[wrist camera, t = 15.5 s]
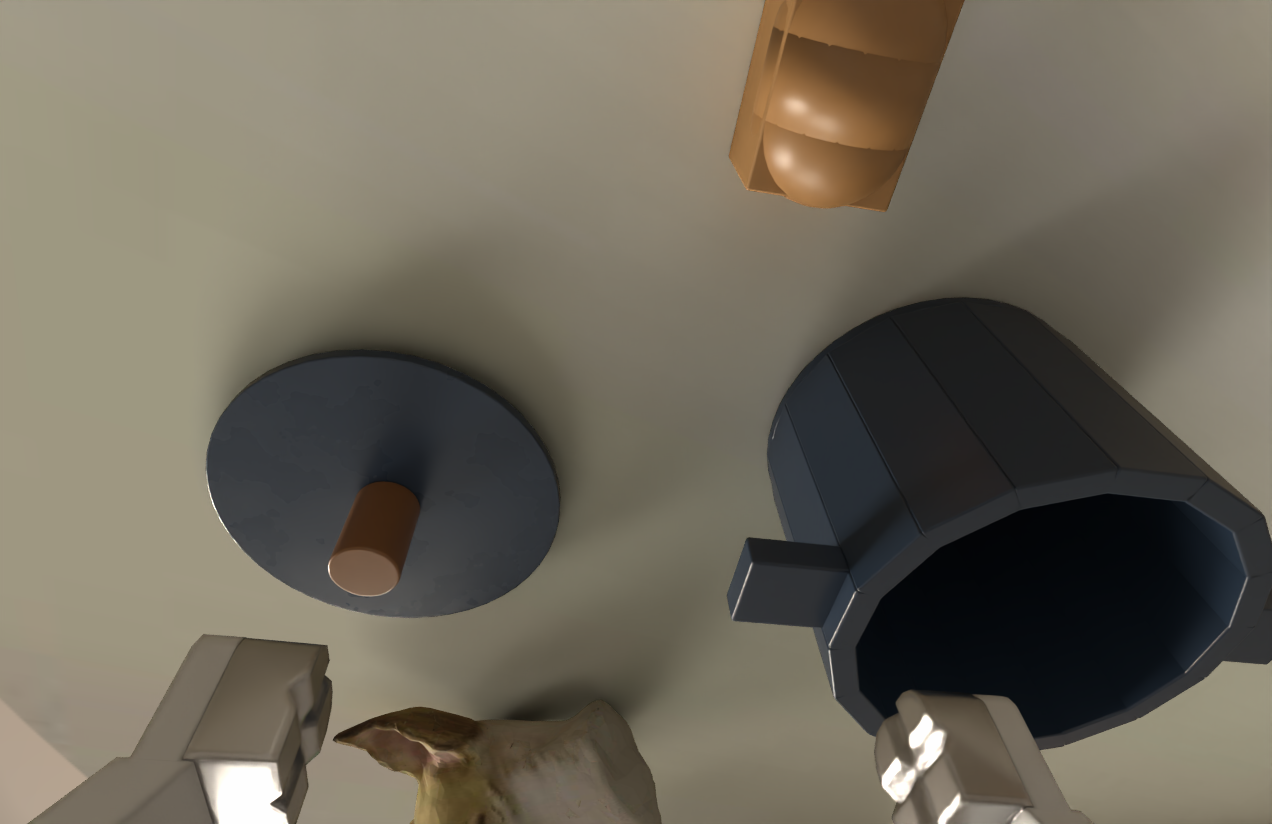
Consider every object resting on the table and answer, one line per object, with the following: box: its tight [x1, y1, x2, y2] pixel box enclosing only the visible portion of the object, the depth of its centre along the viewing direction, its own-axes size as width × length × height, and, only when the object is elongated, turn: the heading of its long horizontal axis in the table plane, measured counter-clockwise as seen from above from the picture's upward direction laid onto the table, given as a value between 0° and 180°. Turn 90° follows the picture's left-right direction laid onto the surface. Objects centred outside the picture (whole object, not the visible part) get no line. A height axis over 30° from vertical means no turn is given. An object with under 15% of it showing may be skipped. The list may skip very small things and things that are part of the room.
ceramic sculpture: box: [333, 700, 662, 824], centre depth 35 cm, size 11×9×15 cm
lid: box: [206, 349, 561, 618], centre depth 27 cm, size 13×13×5 cm
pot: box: [727, 298, 1272, 750], centre depth 24 cm, size 12×17×10 cm
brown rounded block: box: [729, 0, 964, 212], centre depth 19 cm, size 6×4×4 cm
